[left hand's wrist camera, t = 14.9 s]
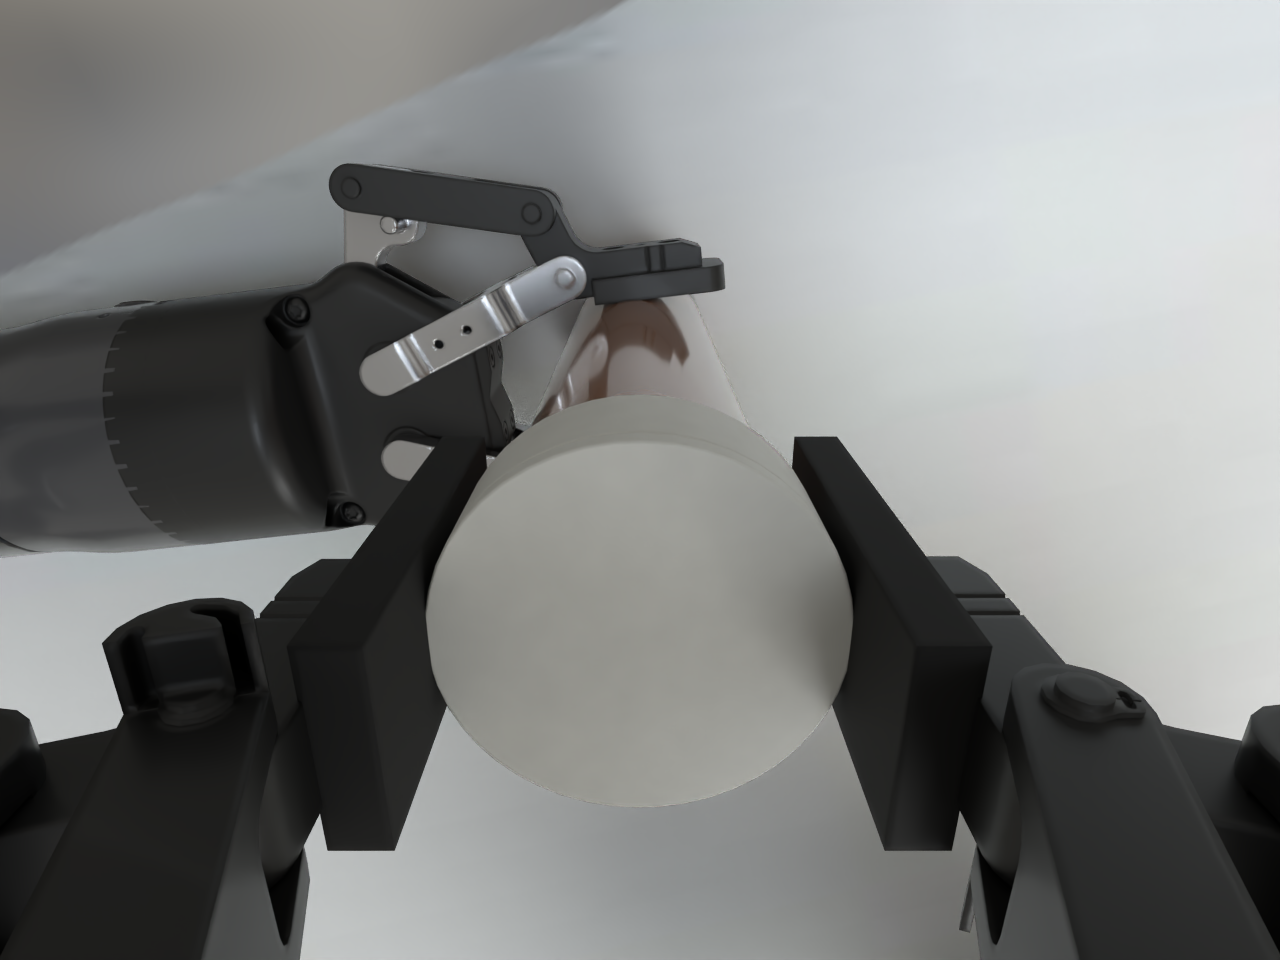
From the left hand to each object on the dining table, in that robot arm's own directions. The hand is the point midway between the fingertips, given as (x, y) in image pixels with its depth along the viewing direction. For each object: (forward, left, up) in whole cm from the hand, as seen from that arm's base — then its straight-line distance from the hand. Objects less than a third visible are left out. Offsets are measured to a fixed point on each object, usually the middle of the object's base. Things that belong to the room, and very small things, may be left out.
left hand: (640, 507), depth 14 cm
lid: (0, 0, +4) cm, 4 cm away
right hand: (-3, 0, -10) cm, 10 cm away
